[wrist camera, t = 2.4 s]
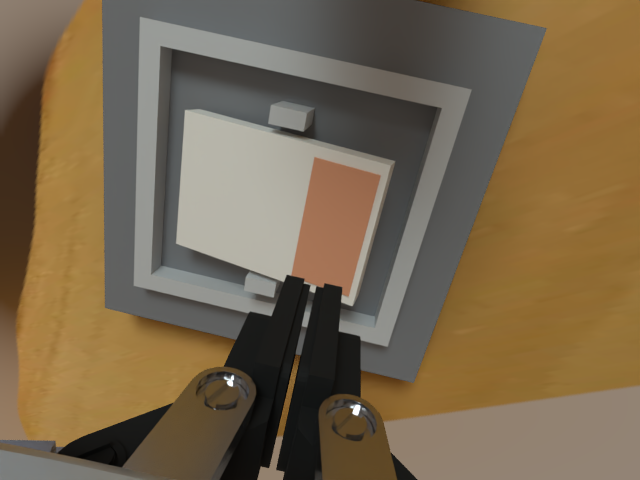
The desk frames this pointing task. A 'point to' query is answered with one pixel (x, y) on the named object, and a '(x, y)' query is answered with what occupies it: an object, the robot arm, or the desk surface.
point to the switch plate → (315, 123)
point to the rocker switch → (279, 201)
